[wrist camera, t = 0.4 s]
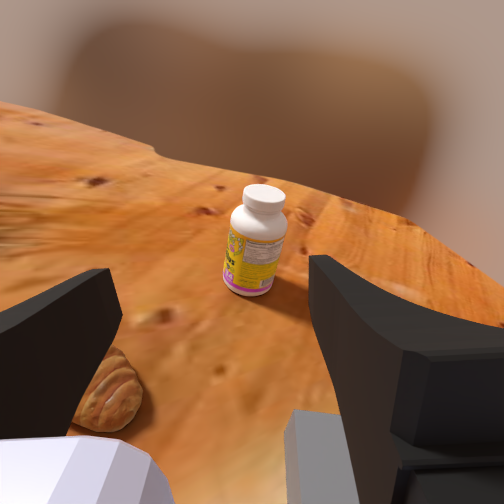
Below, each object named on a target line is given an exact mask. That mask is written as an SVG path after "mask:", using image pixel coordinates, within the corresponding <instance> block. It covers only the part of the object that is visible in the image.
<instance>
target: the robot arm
mask: <svg viewBox="0 0 504 504" xmlns="http://www.w3.org/2000/svg"><path fill="white" fill-rule="evenodd" d="M309 309H310V314H311V319H312V324H313V328H314V331H315V334H316V337H317V340H318V343H319V345H320V348H321V351H322V354H323V357H324V360H325V362H326V365H327V368H328V371H329V374H330V377H331V380H332V383H333V386H334V389H335V393H336V397H337V402H338V406H339V410H340V414H341V419H342V423H343V428H344V432H345V437H346V441H347V445H348V450H349V455H350V460H351V464H352V469H353V474H354V479H355V484H356V488H357V493H358V498H359V504H504V328H499V327H494V326H489V325H484V324H480V323H476V322H472V321H468V320H464V319H460V318H457V317H453V316H450V315H446V314H443V313H440V312H437V311H434V310H431V309H428V308H425V307H422V306H419V305H417V304H414V303H412V302H409V301H407V300H404V299H402V298H400V297H398V296H395V295H393V294H391V293H389V292H387V291H385V290H383V289H381V288H379V287H377V286H375V285H374V284H372V283H370V282H368V281H367V280H365V279H363V278H362V277H360V276H358V275H357V274H355V273H354V272H352V271H350V270H349V269H347V268H346V267H345V266H343V265H342V264H340V263H339V262H337V261H336V260H334V259H333V258H331V257H330V256H328V255H312V256H309ZM122 316H123V314H122V311H121V307H120V304H119V300H118V297H117V293H116V290H115V286H114V283H113V280H112V276H111V273H110V269H109V268H105V269H92V270H89V271H86V272H84V273H81V274H79V275H77V276H75V277H73V278H70V279H68V280H66V281H64V282H62V283H60V284H58V285H56V286H54V287H52V288H50V289H48V290H46V291H44V292H42V293H40V294H38V295H36V296H34V297H32V298H30V299H28V300H26V301H24V302H22V303H20V304H17V305H15V306H13V307H11V308H9V309H7V310H5V311H2V312H0V504H175V502H174V499H173V496H172V493H171V489H170V486H169V483H168V479H167V478H166V477H165V475H164V474H163V472H162V471H161V470H160V468H159V467H158V466H157V464H156V463H155V462H154V460H153V459H152V458H151V457H150V455H149V454H148V453H146V452H144V451H142V450H140V449H138V448H136V447H134V446H132V445H130V444H128V443H126V442H124V441H122V440H119V439H111V438H103V437H94V436H86V435H85V436H66V434H67V431H68V429H69V427H70V424H71V422H72V419H73V417H74V415H75V412H76V410H77V408H78V405H79V403H80V401H81V399H82V397H83V395H84V393H85V391H86V389H87V388H88V386H89V384H90V382H91V380H92V379H93V377H94V375H95V373H96V371H97V370H98V368H99V366H100V364H101V362H102V360H103V359H104V357H105V355H106V353H107V351H108V349H109V348H110V346H111V344H112V342H113V340H114V338H115V335H116V333H117V330H118V328H119V325H120V322H121V319H122Z"/></svg>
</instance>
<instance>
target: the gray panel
mask: <svg viewBox="0 0 504 504" xmlns="http://www.w3.org/2000/svg"><path fill="white" fill-rule="evenodd" d="M284 443H285V464H286V484H287V504H359V498H358V493H357V488H356V484H355V479H354V474H353V469H352V464H351V460H350V455H349V450H348V445H347V441H346V437H345V432H344V428H343V423H342V419H341V415H336V414H328V413H320V412H312V411H304V410H295V409H294V411H293V413H292V415H291V418H290V420H289V422H288V424H287V427H286V429H285V431H284Z"/></svg>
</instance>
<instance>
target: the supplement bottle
mask: <svg viewBox="0 0 504 504" xmlns="http://www.w3.org/2000/svg"><path fill="white" fill-rule="evenodd" d="M285 198H286V197H285V194H284V193H283V192H282V191H281V190H279V189H277V188H275V187H272V186H269V185H264V184H253V185H248V186H247V187H245V189H244V192H243V197H242V200H243V205H240V206H239V207H237V208H236V209H235V210H234V211H233V213H232V216H231V221H230V229H229V235H228V242H227V249H226V256H225V262H224V270H223V279H224V282H225V284H226V285H227V287H228V288H229V289H231V290H232V291H233V292H235V293H237V294H240V295H244V296H258V295H262V294H264V293H266V292H267V291H268V290H269V289H270V288H271V286H272V283H273V280H274V276H275V272H276V269H277V265H278V261H279V257H280V253H281V249H282V245H283V242H284V238H285V234H286V230H287V220H286V218H285V216H284V214H283V213H282V212H281V210H282V209H283V207H284V203H285Z"/></svg>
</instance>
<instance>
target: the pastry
mask: <svg viewBox="0 0 504 504" xmlns="http://www.w3.org/2000/svg"><path fill="white" fill-rule="evenodd" d="M142 394H143V389H142V387H141V385H140V383H139V382H138V379H137V375H136V372H135V371H134V370H133V369H132V368H131V365H130V363H129V361H128V360H127V359H126V357H125V354H123V352H122V351H121V350H120V349H118V348H116V347H115V346H114V345H111V346H110V348H109V349H108V351H107V353H106V355H105V357H104V359H103V360H102V362H101V364H100V366H99V368H98V370H97V371H96V373H95V375H94V377H93V379H92V380H91V382H90V384H89V386H88V388H87V389H86V391H85V393H84V395H83V397H82V399H81V401H80V403H79V405H78V408H77V410H76V412H75V415H74V417H73V419H72V422H73V423H75V424H78V425H80V426H83V427H85V428H87V429H90V430H92V431H96V432H115V431H117V430H120V429H122V428H123V427H125V426H126V425H127V424H128V423H129V422H130V421H131V420H132V419H133V418H134V416H135V414H136V412H137V410H138V408H139V407H140V405H141V401H142Z"/></svg>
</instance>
